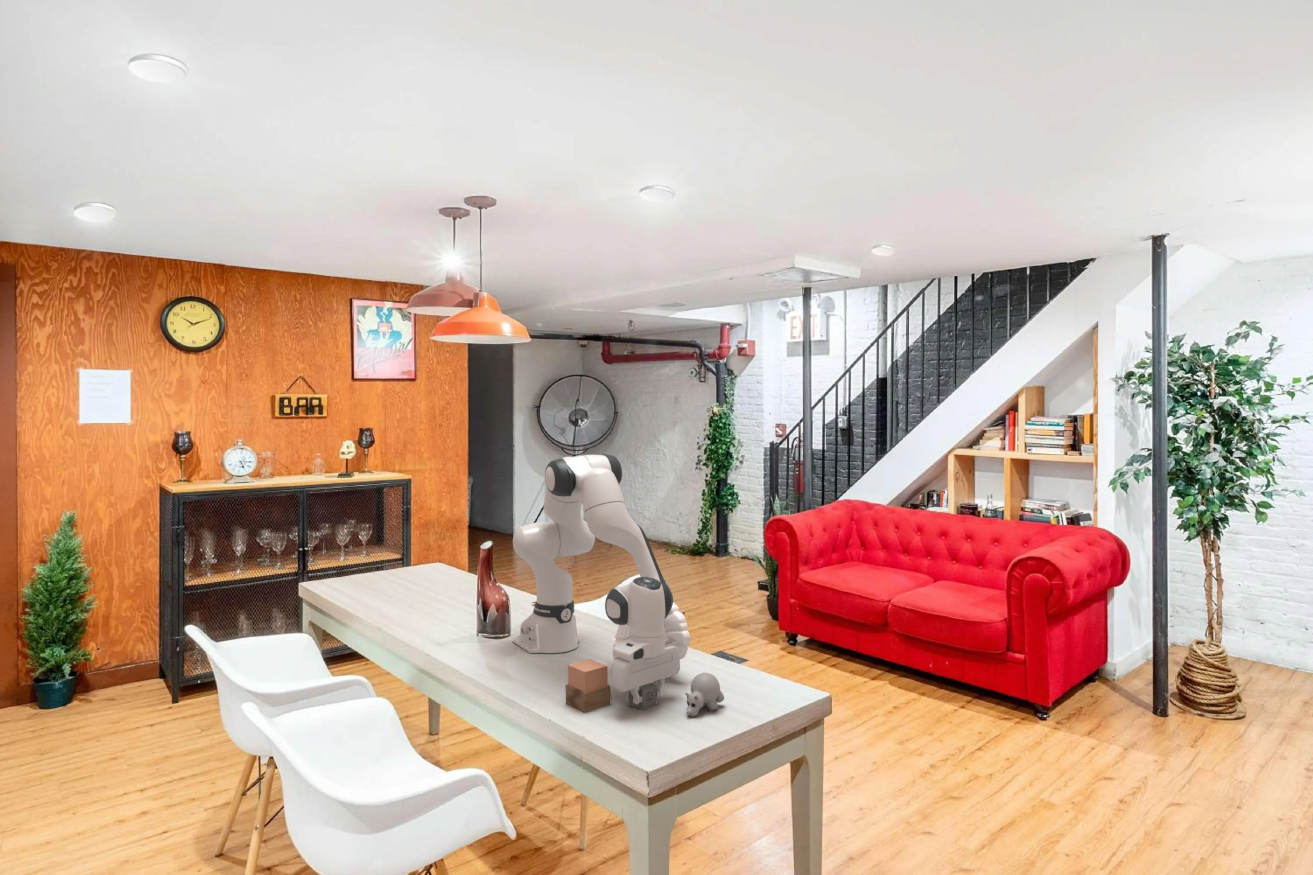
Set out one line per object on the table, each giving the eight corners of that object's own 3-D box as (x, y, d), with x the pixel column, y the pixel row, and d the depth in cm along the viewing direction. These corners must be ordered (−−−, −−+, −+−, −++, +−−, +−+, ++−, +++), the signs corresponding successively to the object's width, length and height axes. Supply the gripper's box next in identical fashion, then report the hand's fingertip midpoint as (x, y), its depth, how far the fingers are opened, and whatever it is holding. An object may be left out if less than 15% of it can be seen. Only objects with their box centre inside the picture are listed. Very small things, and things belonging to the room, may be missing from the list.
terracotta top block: (568, 684, 190) (568, 664, 190) (590, 678, 195) (590, 658, 195) (584, 692, 185) (584, 672, 185) (607, 685, 190) (607, 665, 190)
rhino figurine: (679, 722, 186) (670, 694, 183) (706, 691, 194) (698, 663, 191) (703, 730, 181) (694, 701, 178) (729, 697, 189) (721, 669, 187)
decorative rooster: (602, 668, 217) (602, 581, 217) (648, 657, 226) (648, 574, 226) (652, 694, 197) (652, 599, 196) (700, 682, 206) (700, 590, 205)
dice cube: (642, 698, 194) (642, 679, 194) (656, 704, 190) (656, 684, 190) (628, 704, 190) (628, 684, 190) (642, 709, 187) (642, 689, 187)
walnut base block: (565, 704, 191) (565, 684, 190) (591, 696, 196) (591, 677, 196) (585, 713, 185) (584, 693, 184) (610, 705, 190) (610, 685, 190)
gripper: (668, 633, 198) (668, 686, 198) (607, 650, 184) (607, 706, 184) (685, 638, 193) (685, 692, 194) (625, 656, 179) (625, 714, 180)
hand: (647, 699), depth 189 cm, fingers closed on dice cube, 5 cm apart
